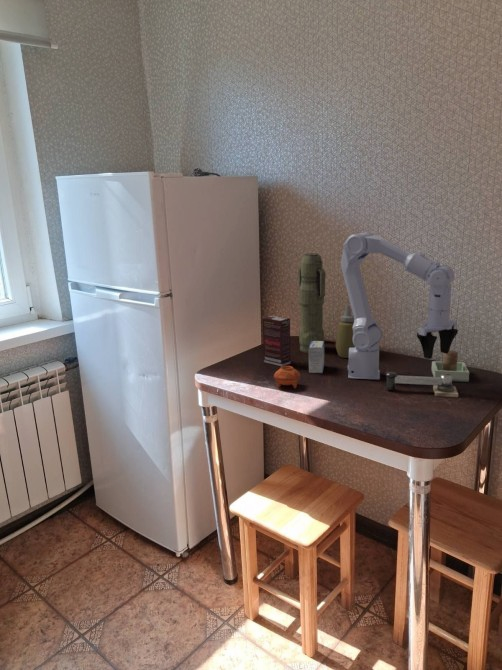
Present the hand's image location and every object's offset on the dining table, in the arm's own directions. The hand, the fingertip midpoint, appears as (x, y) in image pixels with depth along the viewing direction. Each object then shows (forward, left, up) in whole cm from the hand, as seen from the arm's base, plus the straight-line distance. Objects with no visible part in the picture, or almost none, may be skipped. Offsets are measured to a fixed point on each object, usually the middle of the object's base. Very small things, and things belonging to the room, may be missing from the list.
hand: (436, 355), depth 154 cm
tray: (+6, +10, -10) cm, 15 cm away
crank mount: (-2, 0, -10) cm, 10 cm away
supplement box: (-49, +16, -10) cm, 53 cm away
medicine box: (-35, +11, -10) cm, 39 cm away
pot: (-43, -6, -10) cm, 44 cm away
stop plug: (+5, +10, -9) cm, 15 cm away
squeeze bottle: (-26, +27, -10) cm, 39 cm away
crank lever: (-5, -5, -9) cm, 11 cm away
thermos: (-39, +33, -10) cm, 53 cm away
